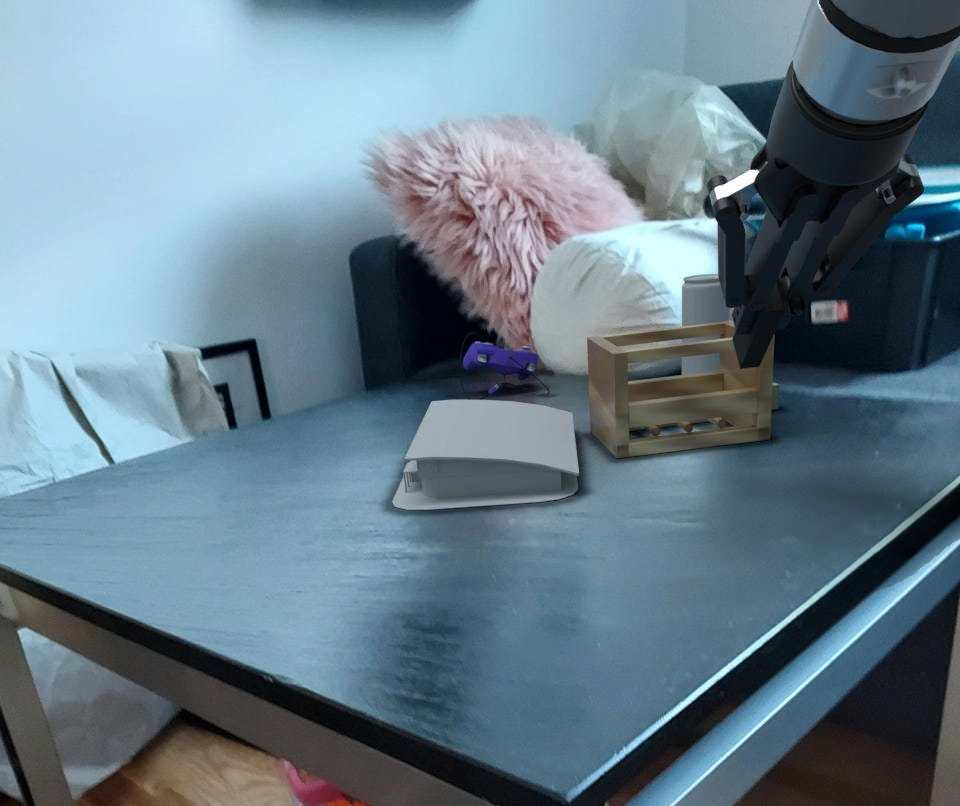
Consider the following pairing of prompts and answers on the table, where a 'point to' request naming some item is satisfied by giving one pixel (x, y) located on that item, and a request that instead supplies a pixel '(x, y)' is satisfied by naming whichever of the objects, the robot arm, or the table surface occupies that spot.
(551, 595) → the table surface
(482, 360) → the game controller
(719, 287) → the beverage can
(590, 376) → the rack
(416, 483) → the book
